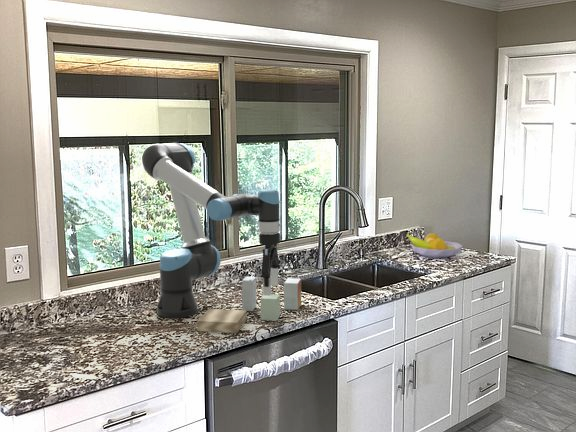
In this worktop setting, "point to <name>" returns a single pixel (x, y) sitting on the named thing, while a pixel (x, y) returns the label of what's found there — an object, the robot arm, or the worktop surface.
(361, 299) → the worktop surface
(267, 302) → the sage block
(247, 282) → the skincare box
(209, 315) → the birch block
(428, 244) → the fruit bowl
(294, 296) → the small box
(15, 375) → the worktop surface
